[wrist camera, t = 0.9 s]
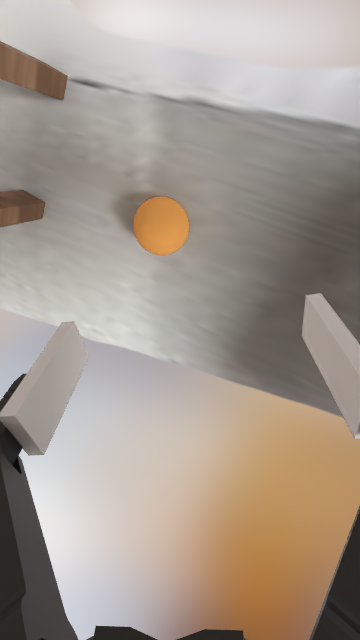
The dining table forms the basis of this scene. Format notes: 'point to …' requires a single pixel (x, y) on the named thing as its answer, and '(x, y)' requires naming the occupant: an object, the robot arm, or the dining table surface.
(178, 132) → the dining table surface
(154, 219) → the ball
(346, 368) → the robot arm
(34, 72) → the bridge
